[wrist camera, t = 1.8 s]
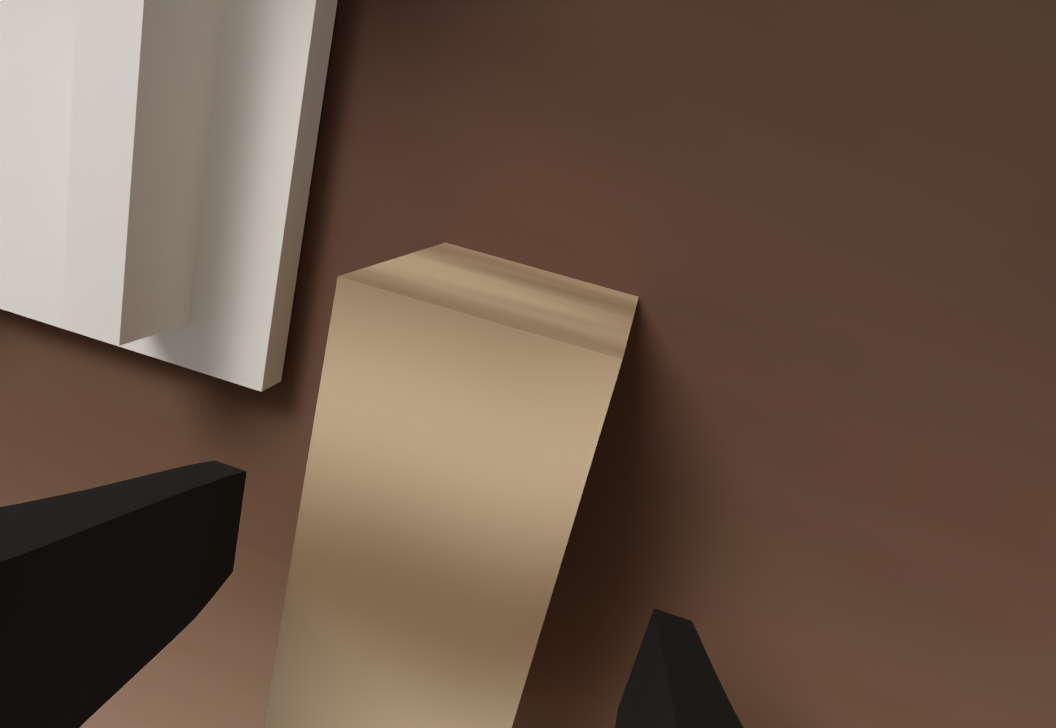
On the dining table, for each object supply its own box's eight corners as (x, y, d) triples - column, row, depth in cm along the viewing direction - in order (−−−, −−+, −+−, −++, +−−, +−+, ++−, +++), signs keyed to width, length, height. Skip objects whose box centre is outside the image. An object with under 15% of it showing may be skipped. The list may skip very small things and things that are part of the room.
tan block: (519, 694, 17) (459, 898, 12) (364, 639, 17) (248, 815, 13) (638, 295, 14) (622, 359, 9) (447, 241, 14) (338, 276, 10)
